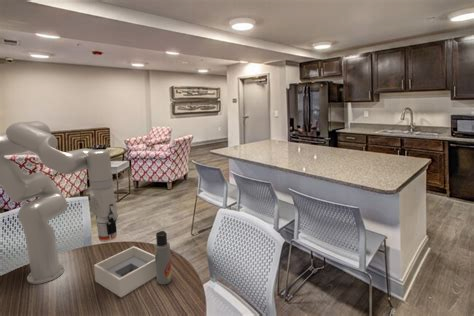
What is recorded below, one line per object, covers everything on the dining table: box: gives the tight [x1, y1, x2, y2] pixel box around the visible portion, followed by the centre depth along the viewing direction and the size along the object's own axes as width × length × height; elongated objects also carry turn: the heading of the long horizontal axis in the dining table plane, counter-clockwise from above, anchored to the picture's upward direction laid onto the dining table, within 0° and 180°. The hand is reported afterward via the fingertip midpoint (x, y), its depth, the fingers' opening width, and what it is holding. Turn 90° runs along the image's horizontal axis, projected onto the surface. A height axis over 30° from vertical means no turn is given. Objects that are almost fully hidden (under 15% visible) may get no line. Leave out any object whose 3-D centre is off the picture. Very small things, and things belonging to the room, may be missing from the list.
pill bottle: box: [96, 213, 118, 243], centre depth 106 cm, size 6×6×11 cm
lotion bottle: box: [153, 230, 173, 285], centre depth 110 cm, size 6×6×20 cm
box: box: [93, 245, 157, 298], centre depth 114 cm, size 17×18×7 cm
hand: (107, 230), depth 106 cm, fingers closed on pill bottle, 6 cm apart
